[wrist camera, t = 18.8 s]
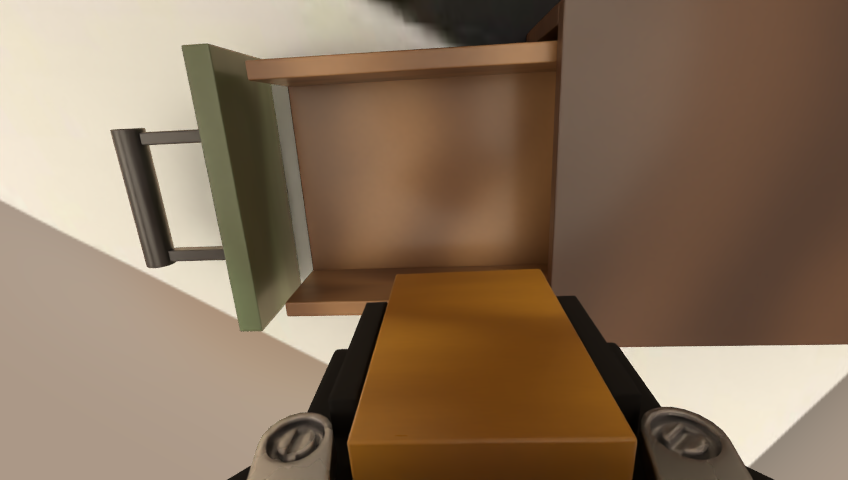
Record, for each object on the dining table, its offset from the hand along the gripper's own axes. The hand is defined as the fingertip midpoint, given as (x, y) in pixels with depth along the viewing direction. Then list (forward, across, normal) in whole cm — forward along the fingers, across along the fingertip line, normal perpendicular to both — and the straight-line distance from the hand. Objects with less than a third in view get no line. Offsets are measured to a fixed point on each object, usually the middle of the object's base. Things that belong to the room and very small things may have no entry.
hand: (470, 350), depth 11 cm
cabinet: (+15, -14, -2) cm, 20 cm away
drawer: (+14, +5, -2) cm, 15 cm away
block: (+1, 0, 0) cm, 1 cm away
